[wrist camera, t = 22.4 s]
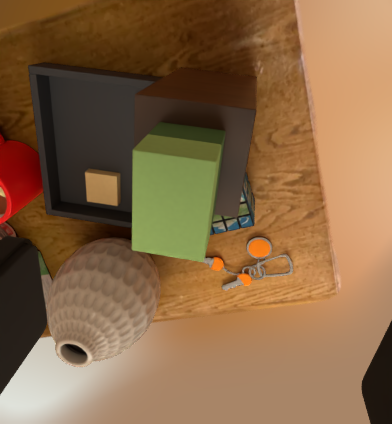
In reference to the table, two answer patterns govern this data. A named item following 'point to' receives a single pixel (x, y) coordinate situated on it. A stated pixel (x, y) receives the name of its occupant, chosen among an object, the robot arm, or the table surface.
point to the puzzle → (244, 214)
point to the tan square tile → (103, 187)
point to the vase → (102, 301)
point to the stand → (206, 119)
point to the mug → (18, 177)
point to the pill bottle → (6, 230)
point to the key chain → (258, 250)
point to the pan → (85, 136)
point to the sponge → (175, 190)
